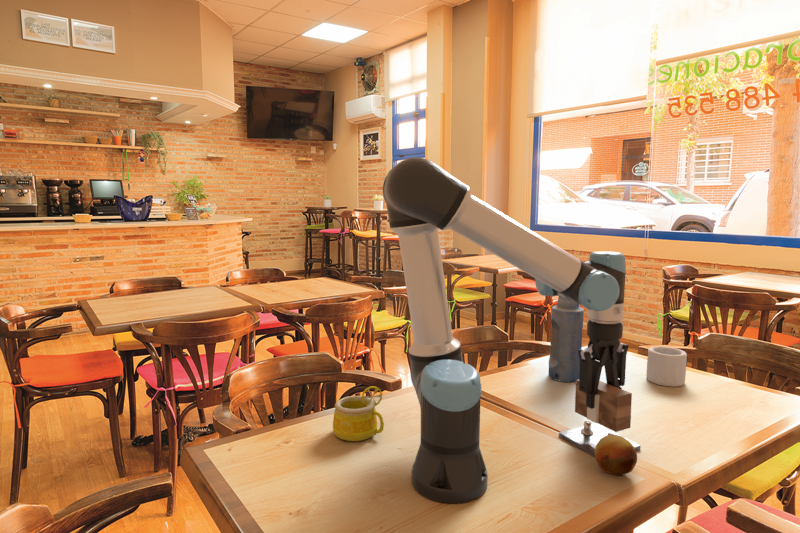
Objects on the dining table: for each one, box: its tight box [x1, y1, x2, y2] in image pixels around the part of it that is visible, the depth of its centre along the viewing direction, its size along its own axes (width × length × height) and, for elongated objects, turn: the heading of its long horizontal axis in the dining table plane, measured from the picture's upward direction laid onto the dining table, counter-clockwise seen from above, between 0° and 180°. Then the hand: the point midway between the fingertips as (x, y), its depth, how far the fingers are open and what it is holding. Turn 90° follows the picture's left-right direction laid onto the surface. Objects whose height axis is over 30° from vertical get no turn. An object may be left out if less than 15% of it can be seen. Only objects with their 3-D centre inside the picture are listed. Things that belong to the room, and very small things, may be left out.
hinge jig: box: [558, 420, 641, 458], centre depth 116 cm, size 12×13×4 cm
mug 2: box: [645, 345, 688, 388], centre depth 157 cm, size 14×11×10 cm
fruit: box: [594, 434, 638, 477], centre depth 102 cm, size 8×8×8 cm
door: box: [574, 379, 633, 433], centre depth 115 cm, size 12×4×8 cm, turn 26°
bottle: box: [548, 296, 585, 383], centre depth 158 cm, size 10×10×30 cm
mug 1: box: [332, 385, 385, 442], centre depth 119 cm, size 13×11×12 cm
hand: (600, 418), depth 115 cm, fingers closed on door, 4 cm apart
